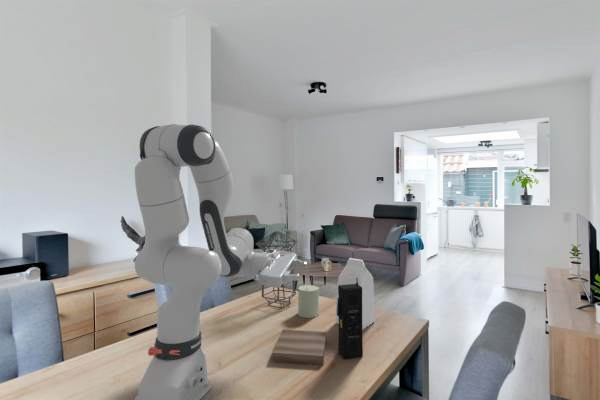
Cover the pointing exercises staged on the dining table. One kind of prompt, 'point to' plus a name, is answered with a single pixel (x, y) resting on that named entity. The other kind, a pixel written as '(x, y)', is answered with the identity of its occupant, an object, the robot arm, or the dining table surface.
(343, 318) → the portable radio
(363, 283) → the milk
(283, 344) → the walnut plinth
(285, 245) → the geometric lantern
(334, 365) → the dining table surface
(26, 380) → the dining table surface
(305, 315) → the can
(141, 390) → the robot arm
